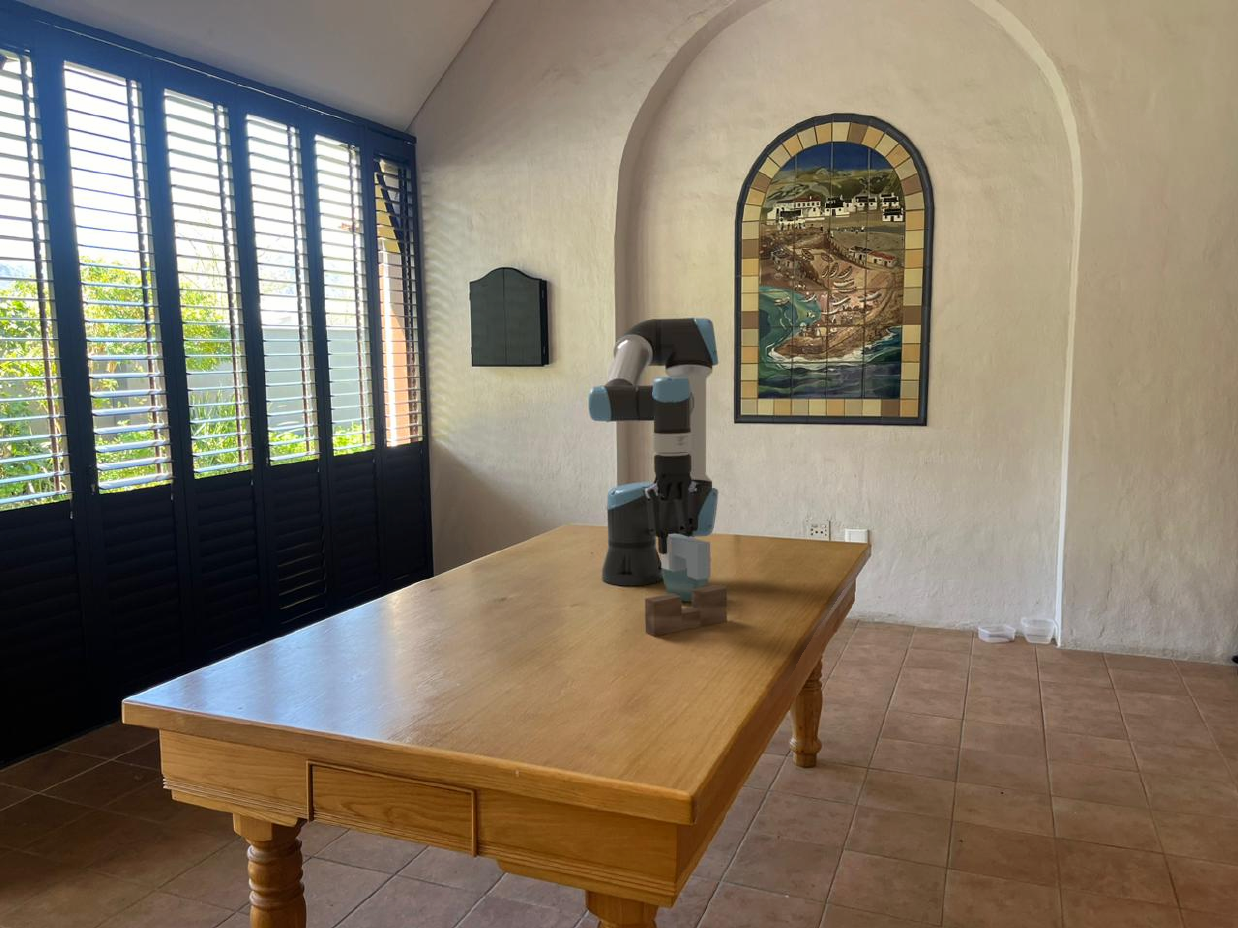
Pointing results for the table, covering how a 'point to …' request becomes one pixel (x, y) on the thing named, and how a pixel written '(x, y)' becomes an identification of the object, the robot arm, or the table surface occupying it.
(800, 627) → the table surface
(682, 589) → the flower pot
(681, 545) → the light blue notched brick
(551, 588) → the table surface
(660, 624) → the walnut notched block
